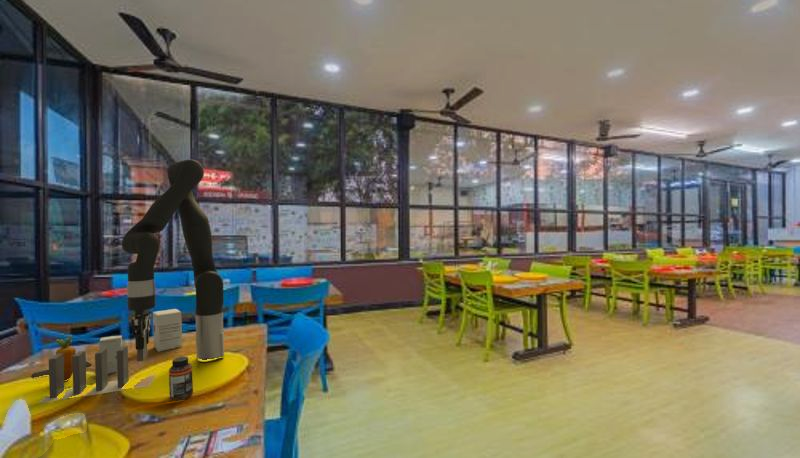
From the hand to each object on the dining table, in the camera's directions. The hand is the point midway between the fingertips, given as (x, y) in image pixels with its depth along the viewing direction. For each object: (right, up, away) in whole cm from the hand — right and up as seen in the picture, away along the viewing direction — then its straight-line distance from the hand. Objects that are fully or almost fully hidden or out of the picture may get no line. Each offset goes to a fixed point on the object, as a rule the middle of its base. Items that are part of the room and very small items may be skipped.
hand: (142, 346), depth 121 cm
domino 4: (0, -4, 0) cm, 4 cm away
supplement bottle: (+19, -12, -11) cm, 25 cm away
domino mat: (-10, -12, -4) cm, 16 cm away
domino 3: (-5, -11, -2) cm, 13 cm away
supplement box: (-15, -12, +37) cm, 42 cm away
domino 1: (-15, -12, -6) cm, 20 cm away
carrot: (-26, -12, +2) cm, 29 cm away
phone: (-37, -13, +13) cm, 41 cm away
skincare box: (-18, -12, +10) cm, 24 cm away
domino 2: (-10, -12, -4) cm, 16 cm away
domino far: (-20, -12, -8) cm, 25 cm away
